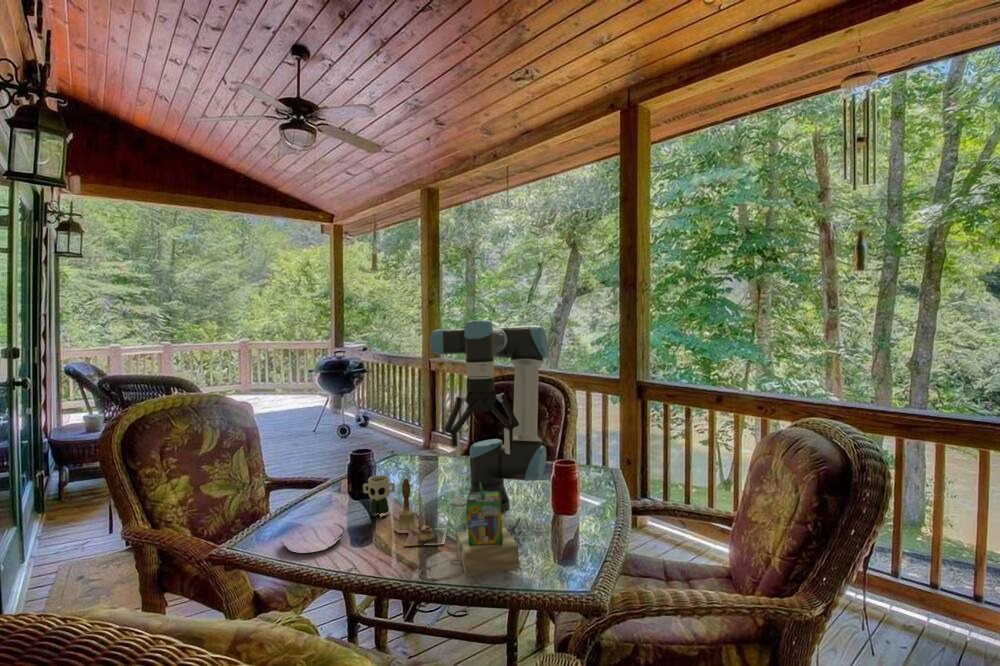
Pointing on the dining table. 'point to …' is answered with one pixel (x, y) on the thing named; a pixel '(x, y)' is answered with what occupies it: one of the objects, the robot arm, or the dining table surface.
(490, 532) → the chalk box
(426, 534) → the dessert
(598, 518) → the dining table surface
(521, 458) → the robot arm
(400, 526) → the hand bell
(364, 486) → the character mug
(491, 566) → the birch block
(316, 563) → the dining table surface
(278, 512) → the dining table surface
